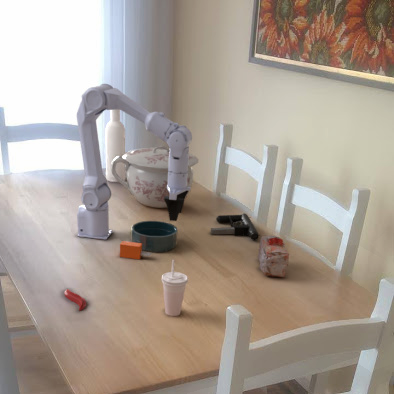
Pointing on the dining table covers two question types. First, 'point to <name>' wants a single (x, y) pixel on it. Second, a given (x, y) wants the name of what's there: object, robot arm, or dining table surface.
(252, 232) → the machine pistol
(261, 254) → the food item
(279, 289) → the dining table surface
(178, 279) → the smoothie
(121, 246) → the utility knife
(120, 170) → the bottle
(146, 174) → the chamber pot
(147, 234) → the bowl
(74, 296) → the cayenne pepper
